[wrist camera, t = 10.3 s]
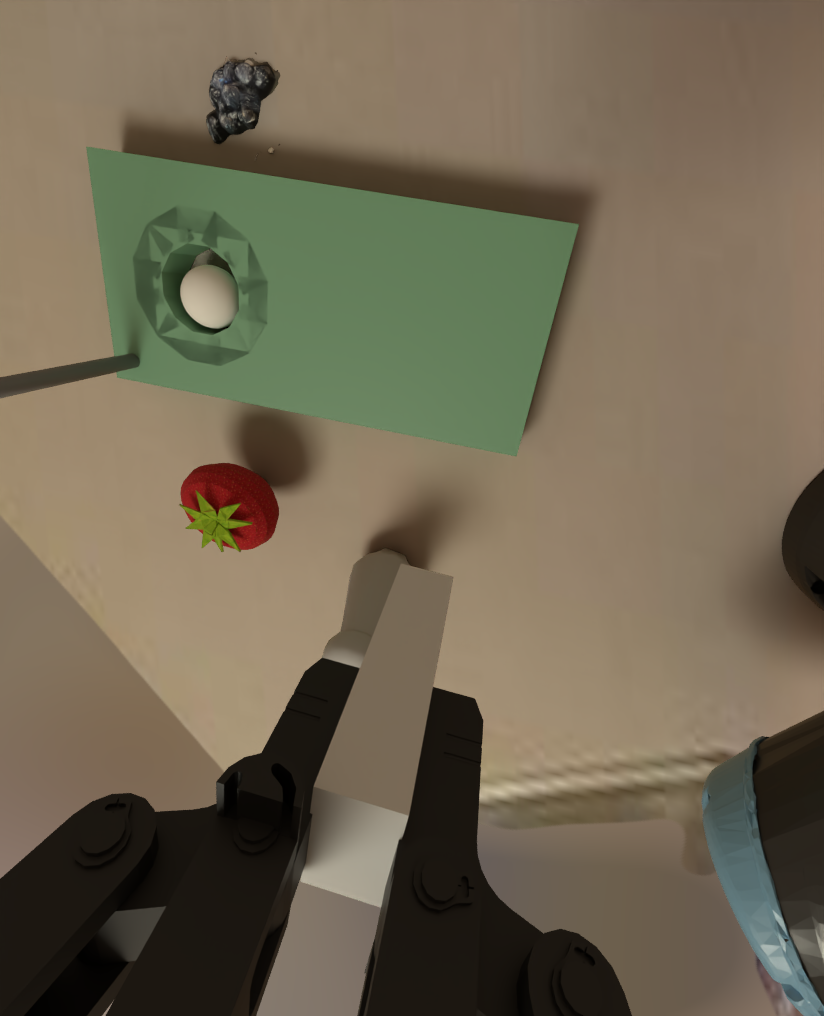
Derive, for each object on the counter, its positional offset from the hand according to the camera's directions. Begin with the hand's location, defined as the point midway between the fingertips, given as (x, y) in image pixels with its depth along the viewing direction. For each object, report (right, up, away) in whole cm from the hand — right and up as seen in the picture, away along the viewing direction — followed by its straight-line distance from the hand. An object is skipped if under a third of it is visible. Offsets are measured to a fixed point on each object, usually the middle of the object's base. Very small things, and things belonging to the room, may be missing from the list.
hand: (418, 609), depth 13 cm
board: (-6, +17, +20) cm, 27 cm away
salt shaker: (-2, -2, +28) cm, 29 cm away
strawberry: (-13, +5, +27) cm, 30 cm away
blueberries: (-11, +28, +16) cm, 34 cm away
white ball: (-14, +17, +19) cm, 29 cm away
